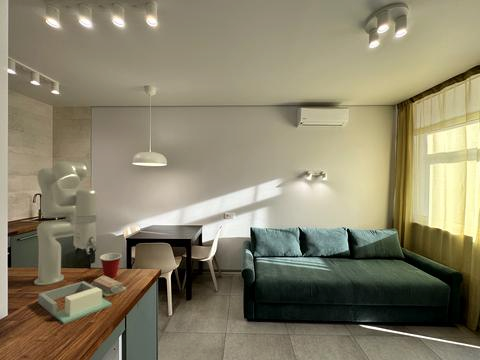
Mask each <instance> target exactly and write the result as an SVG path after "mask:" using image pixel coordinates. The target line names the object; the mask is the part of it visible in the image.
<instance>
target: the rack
mask: <svg viewBox="0 0 480 360" xmlns="http://www.w3.org/2000/svg"><path fill="white" fill-rule="evenodd" d="M92 288H96V287H94V286H92V284H90V283H89V282H87V281H84V280H82V281H79V282H75V283H72V284H68V285H64V286H62V287H57V288H55V289H51V290H48V291H44V292H41V293H38V301H37V302H38V304H39V305H40V306H41V307H43V309H45V310H46V311H47V312H49V313H50V314H51V315H53V313H56V312H58V303H57V302H56V301H55V300H58V299H60V298H65V297H67V296H70V295H73V294H76V293H79V292H83V291H86V290H89V289H92Z"/></svg>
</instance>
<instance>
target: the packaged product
mask: <svg viewBox="0 0 480 360" xmlns="http://www.w3.org/2000/svg"><path fill="white" fill-rule="evenodd" d="M91 285H92V286H94V287H97V288H99V289H101V290H102V296H104V297H106V298H108V297H111V296H113V295H116V294H118V293H121V292H124V291H126V290H127V287H126V286H123V282H121V281H118V280H116V279H115V278H109V277H107V276H104V275H101V276H99V277H97V278H95V279H94V280H92V284H91Z"/></svg>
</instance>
